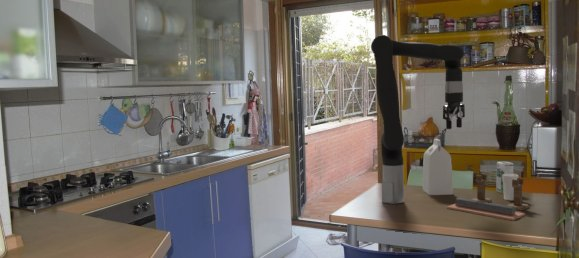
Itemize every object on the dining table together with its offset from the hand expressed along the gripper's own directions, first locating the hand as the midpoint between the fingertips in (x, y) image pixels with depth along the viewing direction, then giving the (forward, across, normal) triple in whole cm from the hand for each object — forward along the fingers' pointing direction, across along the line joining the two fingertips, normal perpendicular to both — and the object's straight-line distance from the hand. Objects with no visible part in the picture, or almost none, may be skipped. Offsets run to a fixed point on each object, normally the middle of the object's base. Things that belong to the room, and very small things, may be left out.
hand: (454, 128), depth 212 cm
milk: (+33, -12, -16) cm, 39 cm away
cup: (+33, -20, +16) cm, 42 cm away
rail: (+32, +8, +18) cm, 38 cm away
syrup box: (+33, -32, +8) cm, 47 cm away
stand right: (+33, -7, +25) cm, 42 cm away
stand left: (+33, -7, +9) cm, 35 cm away
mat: (+33, +8, +18) cm, 39 cm away
